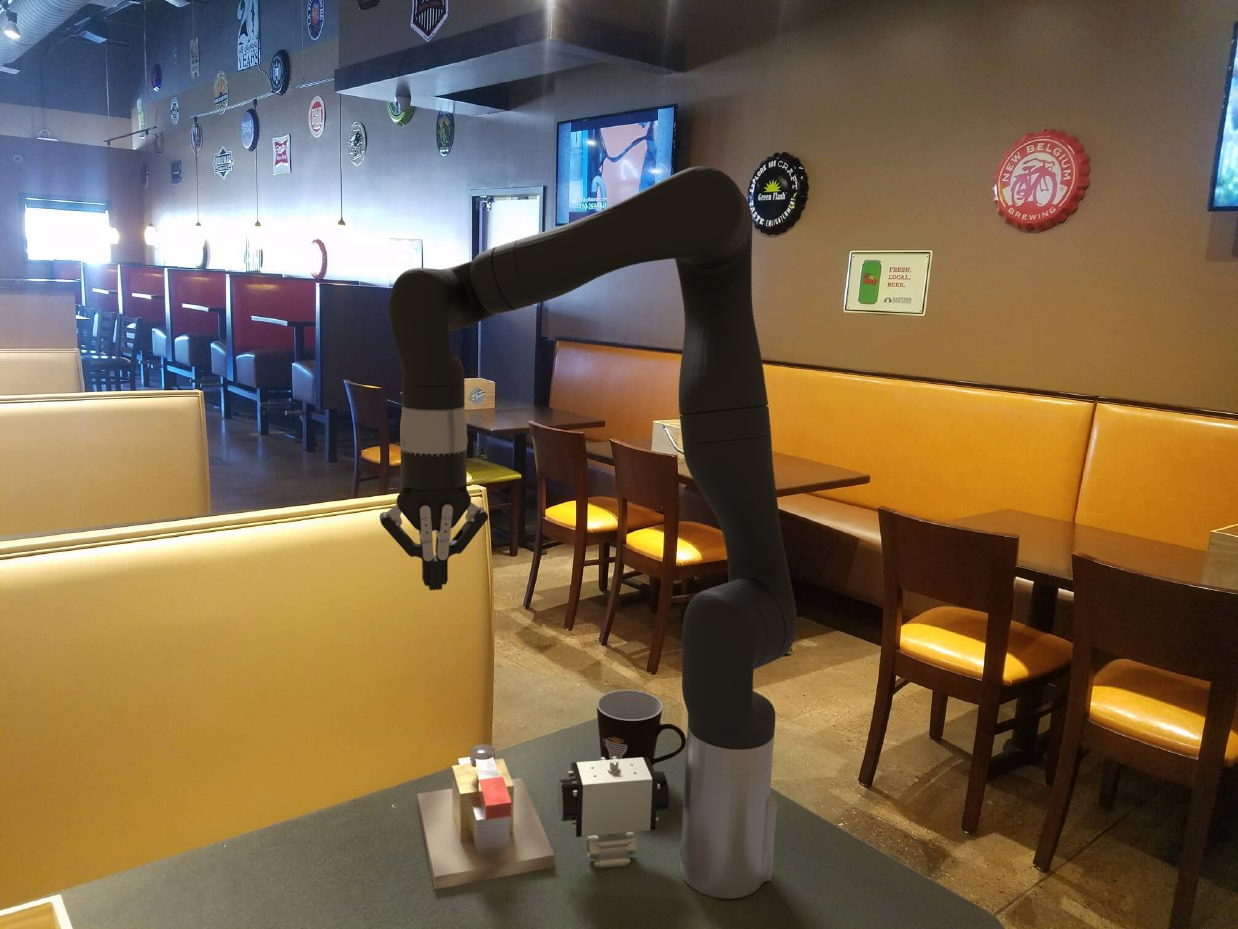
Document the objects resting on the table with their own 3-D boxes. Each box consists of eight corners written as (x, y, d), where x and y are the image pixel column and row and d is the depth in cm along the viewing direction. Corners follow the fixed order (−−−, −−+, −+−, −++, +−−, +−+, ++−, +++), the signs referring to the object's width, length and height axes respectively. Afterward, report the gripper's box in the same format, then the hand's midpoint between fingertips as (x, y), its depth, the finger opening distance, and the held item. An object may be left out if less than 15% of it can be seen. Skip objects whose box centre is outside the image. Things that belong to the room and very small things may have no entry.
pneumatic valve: (666, 867, 96) (671, 768, 94) (561, 878, 94) (564, 777, 92) (654, 837, 102) (658, 742, 99) (555, 846, 99) (557, 750, 97)
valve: (496, 788, 108) (497, 733, 106) (520, 852, 96) (520, 791, 94) (448, 796, 106) (447, 740, 104) (465, 862, 94) (465, 800, 92)
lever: (468, 758, 100) (468, 745, 100) (492, 755, 101) (492, 742, 100) (485, 820, 88) (485, 806, 88) (512, 816, 89) (512, 802, 89)
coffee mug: (581, 770, 115) (583, 700, 113) (632, 751, 120) (634, 684, 118) (635, 812, 106) (638, 737, 104) (688, 790, 111) (692, 718, 109)
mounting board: (521, 788, 110) (521, 778, 110) (554, 867, 96) (554, 854, 95) (417, 805, 106) (417, 793, 106) (434, 889, 91) (434, 876, 91)
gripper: (484, 438, 106) (484, 574, 109) (372, 441, 101) (375, 582, 105) (496, 449, 99) (495, 594, 102) (376, 452, 95) (379, 603, 98)
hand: (434, 587), depth 104 cm, fingers closed
